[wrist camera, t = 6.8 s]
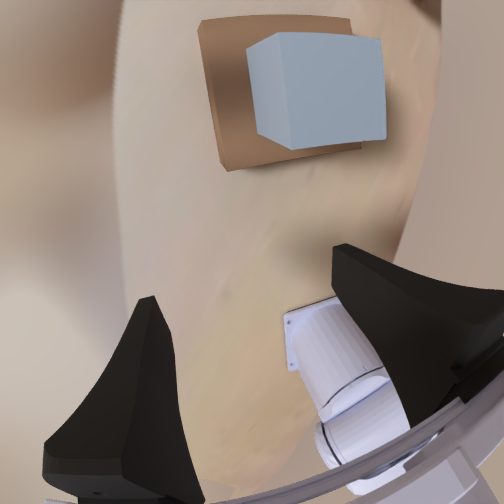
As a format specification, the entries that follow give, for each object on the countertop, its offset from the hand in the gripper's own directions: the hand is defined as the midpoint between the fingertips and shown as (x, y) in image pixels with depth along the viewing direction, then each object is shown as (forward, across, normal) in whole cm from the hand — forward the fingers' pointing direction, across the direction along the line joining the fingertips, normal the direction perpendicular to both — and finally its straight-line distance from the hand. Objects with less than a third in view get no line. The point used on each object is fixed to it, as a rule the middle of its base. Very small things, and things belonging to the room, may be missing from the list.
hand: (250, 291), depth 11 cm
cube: (+8, -6, -7) cm, 12 cm away
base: (+10, -6, -7) cm, 14 cm away
